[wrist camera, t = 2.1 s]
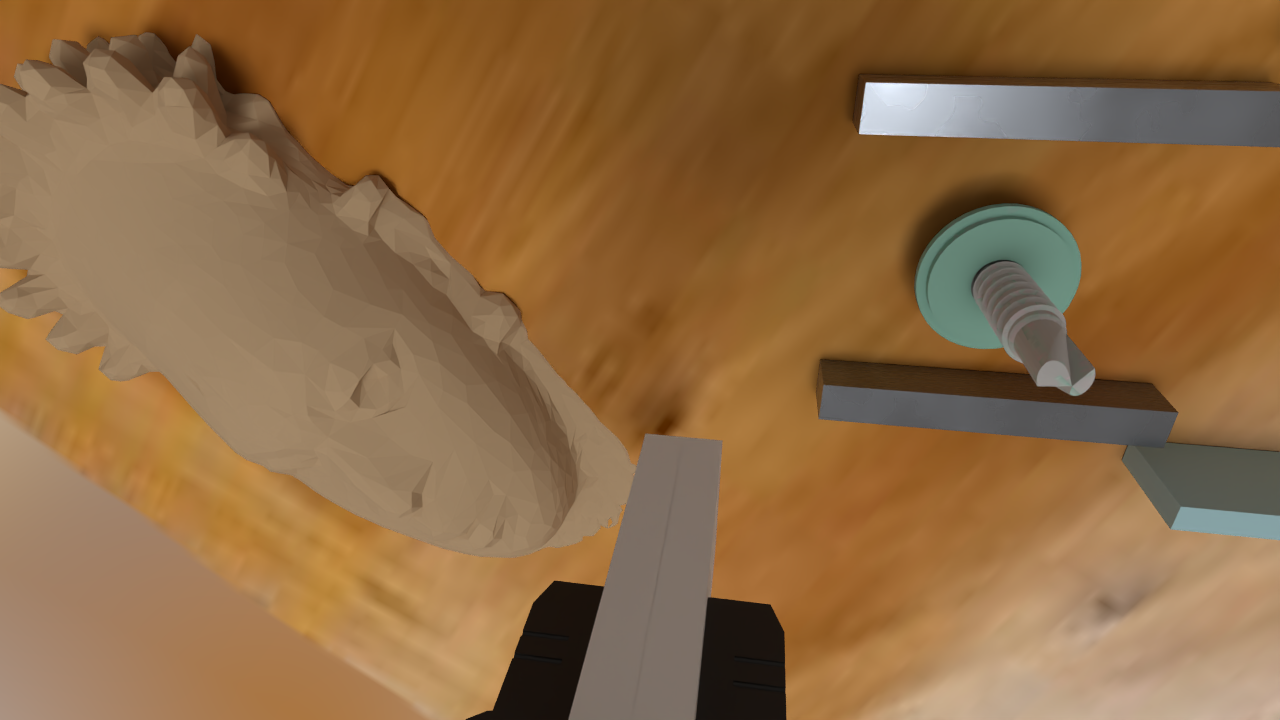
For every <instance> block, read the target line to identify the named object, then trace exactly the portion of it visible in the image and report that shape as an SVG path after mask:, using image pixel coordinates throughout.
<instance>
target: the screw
mask: <svg viewBox="0 0 1280 720" xmlns="http://www.w3.org/2000/svg"><path fill="white" fill-rule="evenodd" d="M1080 277H1081V257H1080V252H1079V249H1078V246H1077V243H1076V241H1075V239H1074V238H1073V236H1072V234H1071V233H1070V232H1069V231H1068V229H1067V228H1066V227H1065V226H1064V225H1063V224H1062V223H1061V222H1060V221H1058V220H1057V219H1056V218H1054V217H1053V216H1052V215H1050V214H1048V213H1046V212H1045V211H1043V210H1041V209H1038V208H1035V207H1032V206H1028V205H1022V204H1008V203H1003V204H995V205H989V206H985V207H981V208H977V209H975V210H973V211H970V212H968V213H965V214H963V215H962V216H960V217H958V218H956V219H955V220H953V221H952V222H950V223H949V224H948V225H946V226H945V227H944V228H943V229H942V230H941V231H940V232H938V233H937V234H936V235H935V236H934V238H933V239H932V240H931V242H930V243H929V244H928V245H927V247H926V249H925V250H924V252H923V254H922V256H921V258H920V260H919V263H918V266H917V269H916V274H915V287H914V289H915V296H916V300H917V303H918V306H919V309H920V311H921V313H922V315H923V317H924V318H925V320H926V322H927V323H928V324H929V325H930V326H931V328H932V329H933V330H935V331H936V332H937V333H938V334H939V335H941V336H942V337H944V338H946V339H947V340H949V341H951V342H954V343H956V344H958V345H962V346H966V347H970V348H978V349H995V348H1002V347H1004V349H1005V351H1006V352H1007V354H1008V355H1009V356H1010V357H1011V358H1013V359H1014V360H1016V361H1018V362H1021V363H1023V364H1024V365H1025V367H1026V369H1027V370H1028V372H1029V374H1030V375H1031V377H1032V378H1033V380H1034V382H1035V383H1036V385H1037V386H1055V387H1057V388H1059V389H1060V390H1062V391H1064V392H1066V393H1068V394H1070V395H1072V396H1078V395H1081V394H1083V393H1084V392H1086V391H1087V390H1088V389H1089V388H1090V386H1091V385H1092V383H1093V381H1094V379H1095V368H1094V367H1093V366H1092V364H1091V363H1090V362H1089V361H1088V360H1087V358H1086V357H1085V356H1084V355H1083V354H1082V352H1081V351H1080V350H1079V349H1078V348H1077V346H1076V345H1075V344H1074V343H1073V342H1072V340H1071V339H1070V338H1069V337H1068V335H1067V330H1066V321H1065V318H1064V316H1063V312H1064V311H1065V310H1066V309H1067V308H1068V306H1069V304H1070V303H1071V301H1072V299H1073V298H1074V296H1075V293H1076V291H1077V288H1078V285H1079V281H1080Z"/></svg>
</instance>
